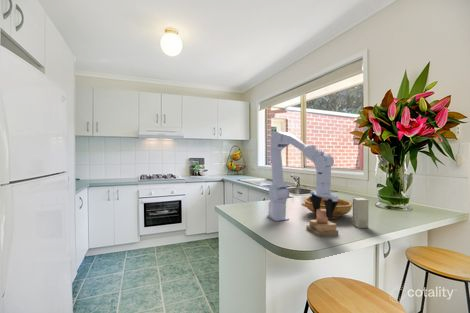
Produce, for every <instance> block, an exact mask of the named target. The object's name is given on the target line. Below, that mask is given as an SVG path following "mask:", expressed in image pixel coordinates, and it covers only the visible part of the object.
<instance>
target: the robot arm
mask: <svg viewBox="0 0 470 313" xmlns="http://www.w3.org/2000/svg"><path fill="white" fill-rule="evenodd" d="M289 145H291V146H293V147H295V148H296V149H298V150H299V151H301V152H302V156H304V157H305V158H307V159H308V160H309V161H310V162H312V163H313V165H314V167H315V172H316V177H315V178H316V179H315V189H313V190H310V191H309V192H310V195H309V196H308V197H309V198H310V200H311V202H312V205H313V209H314V212H313V213H314V214H316V210H317V209H320V203H321V199H322V198H325V199H328V200H324V203H325V207H326V216H327V218H331V217H332V215H333V212H334V209H335V207H336V205H337V204H338V198H339V196H338V195H335V194H332V193H331V189H332V188H331V187H332V186H331V184H332V180H331V179H332V167H333V166H334V164H335V163H334V161H335V160H334V157H333V156H331V155H330V154H327V153H326V154H325V151H323V150H320V149H318V148H317V146H316V145H315V144H308V145H307V144H306V143H305V142H303V141H302V140H301V139H299V138H298V137H296V136H295V135H294V134H292V133H291V132H285V131H274V132H273V133H272V134H271V136H270V146H269V151H270V153H269V154H270V165H271V174H272V176H271V177H272V183H271V184H270V185H269V186H268V187H269V188H268V198H269V199H270V200H269V202H268V214H266V216H267V217H268V218H270V219H272V220H273V221H275V222H277V221H279V222H280V221H286V220H287V221H288V220H290V217H289V218H288V217H287V200H288V199H289V197H290V191H289V189H288V185H287V183H285V180H284V171H283V159H282V151H283V150H284V149H285V148H286V147H288V146H289Z"/></svg>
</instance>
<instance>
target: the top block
mask: <svg viewBox="0 0 470 313" xmlns="http://www.w3.org/2000/svg"><path fill="white" fill-rule="evenodd" d="M309 226H311V227H313V228H314V229H316V230H318V231H320V232H324V231H333V230H337V223H335V222H332V221H329V220H328V223H318V222H317V219H310V220H309Z"/></svg>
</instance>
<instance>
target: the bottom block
mask: <svg viewBox="0 0 470 313" xmlns="http://www.w3.org/2000/svg"><path fill="white" fill-rule="evenodd" d="M305 230H307V231H308V232H310V233H311V234H313V235H315V236H317V237H319V238H324V237H332V236H333V237H334V236H338V235H339V229H336V230H333V231H324V232H320V231H318V230H316V229H314V228H313V227H311V226H309V225H306V229H305Z"/></svg>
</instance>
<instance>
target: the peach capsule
mask: <svg viewBox="0 0 470 313" xmlns="http://www.w3.org/2000/svg"><path fill="white" fill-rule="evenodd" d="M316 214H317V215H316ZM315 215H316V220H317V222H318V223H328V221H329V219H328V218H327V216H326V210H325V209H317V210H316V213H315Z"/></svg>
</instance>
